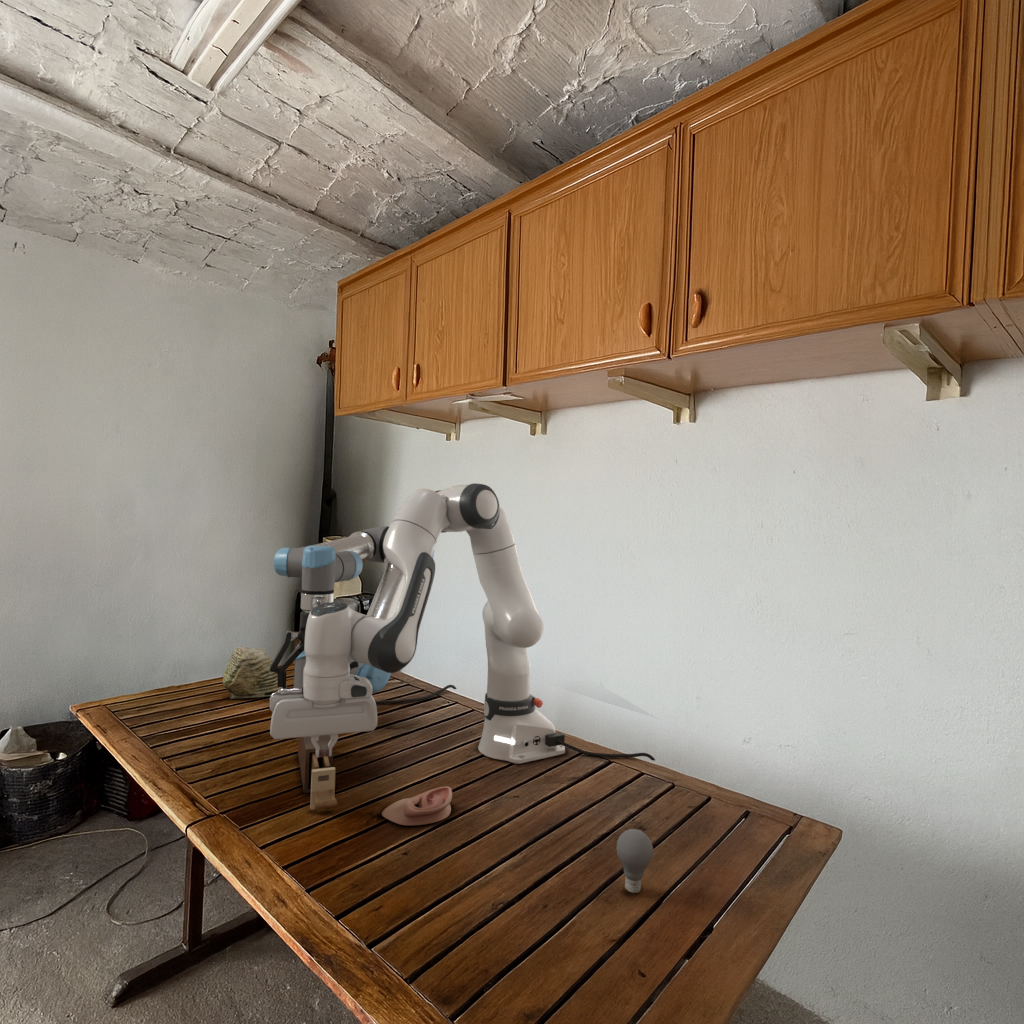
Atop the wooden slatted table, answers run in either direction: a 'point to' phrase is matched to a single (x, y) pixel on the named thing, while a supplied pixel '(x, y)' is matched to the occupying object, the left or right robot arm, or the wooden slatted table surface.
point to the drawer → (321, 783)
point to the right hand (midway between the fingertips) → (323, 755)
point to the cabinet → (304, 757)
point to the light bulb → (634, 857)
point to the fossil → (250, 674)
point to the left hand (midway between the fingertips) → (313, 698)
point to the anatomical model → (421, 808)
